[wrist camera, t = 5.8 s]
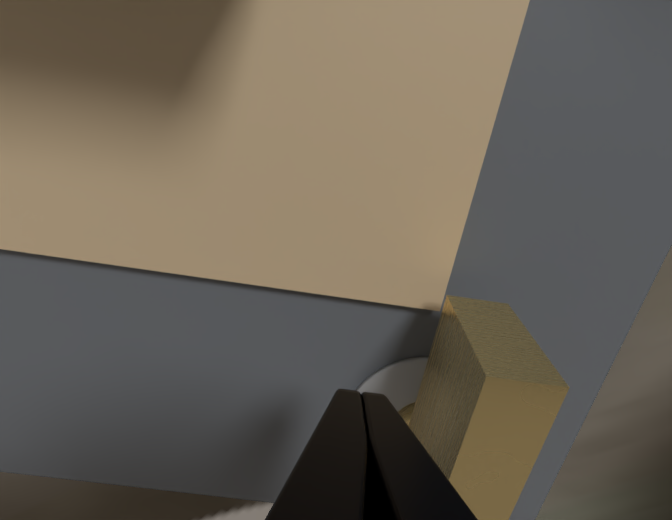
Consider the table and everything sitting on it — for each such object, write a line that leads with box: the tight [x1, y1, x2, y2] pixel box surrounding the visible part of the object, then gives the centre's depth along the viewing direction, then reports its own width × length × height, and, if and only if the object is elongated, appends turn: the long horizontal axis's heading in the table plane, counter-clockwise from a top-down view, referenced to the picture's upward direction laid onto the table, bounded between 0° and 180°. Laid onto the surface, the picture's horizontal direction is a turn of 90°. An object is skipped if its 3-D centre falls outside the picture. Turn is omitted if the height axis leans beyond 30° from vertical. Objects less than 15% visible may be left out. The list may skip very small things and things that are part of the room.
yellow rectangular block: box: [398, 295, 570, 520], centre depth 11 cm, size 2×9×4 cm, turn 171°
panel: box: [0, 0, 672, 520], centre depth 9 cm, size 20×22×4 cm
